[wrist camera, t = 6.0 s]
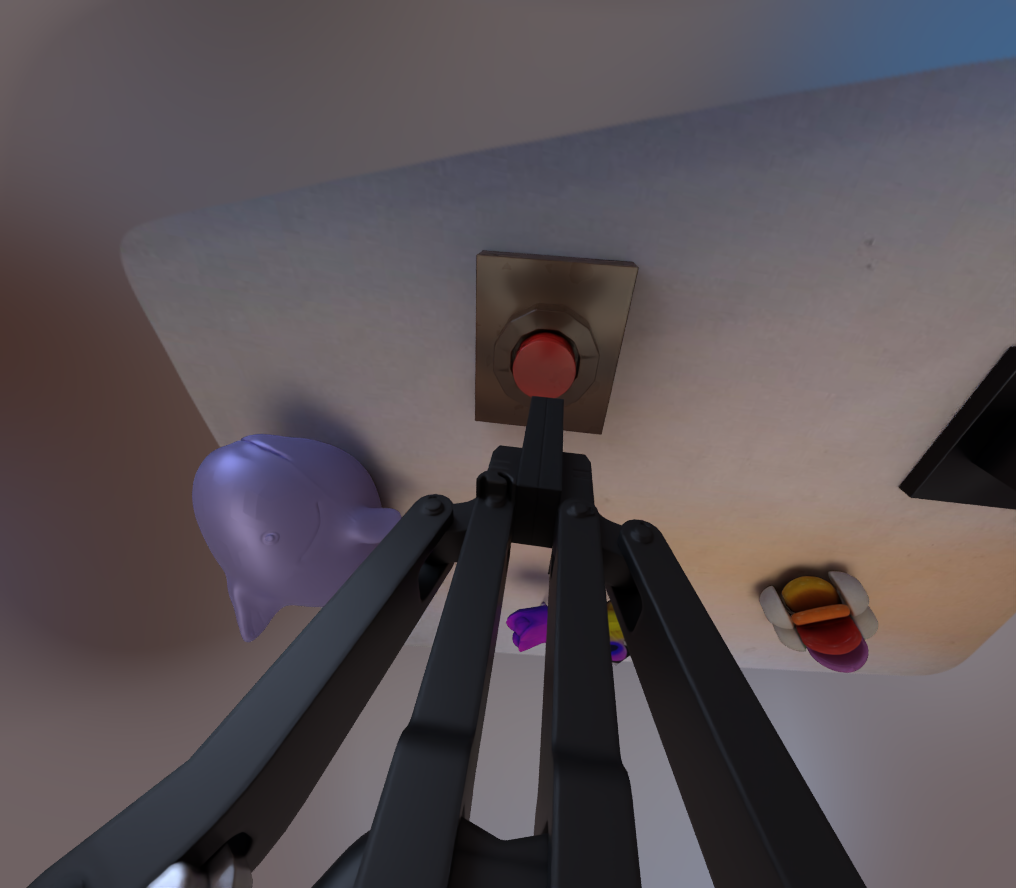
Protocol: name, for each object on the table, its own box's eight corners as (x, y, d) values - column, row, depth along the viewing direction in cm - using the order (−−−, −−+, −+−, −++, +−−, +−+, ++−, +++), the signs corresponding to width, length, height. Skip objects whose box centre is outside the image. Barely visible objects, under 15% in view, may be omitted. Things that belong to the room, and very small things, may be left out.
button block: (482, 250, 26) (470, 258, 22) (633, 261, 25) (644, 272, 22) (480, 408, 32) (470, 432, 29) (599, 420, 32) (603, 447, 28)
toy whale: (362, 392, 28) (147, 583, 18) (463, 571, 44) (376, 724, 34) (256, 381, 34) (52, 520, 25) (378, 542, 50) (284, 664, 41)
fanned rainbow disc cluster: (842, 552, 36) (898, 624, 30) (864, 609, 40) (918, 684, 34) (746, 578, 39) (779, 648, 33) (775, 629, 43) (809, 700, 37)
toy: (505, 542, 39) (521, 638, 31) (677, 536, 42) (733, 622, 34) (495, 610, 45) (506, 705, 37) (645, 601, 49) (685, 685, 40)
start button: (517, 329, 25) (514, 337, 23) (579, 334, 25) (580, 343, 23) (513, 386, 27) (510, 396, 26) (570, 391, 27) (571, 403, 25)
